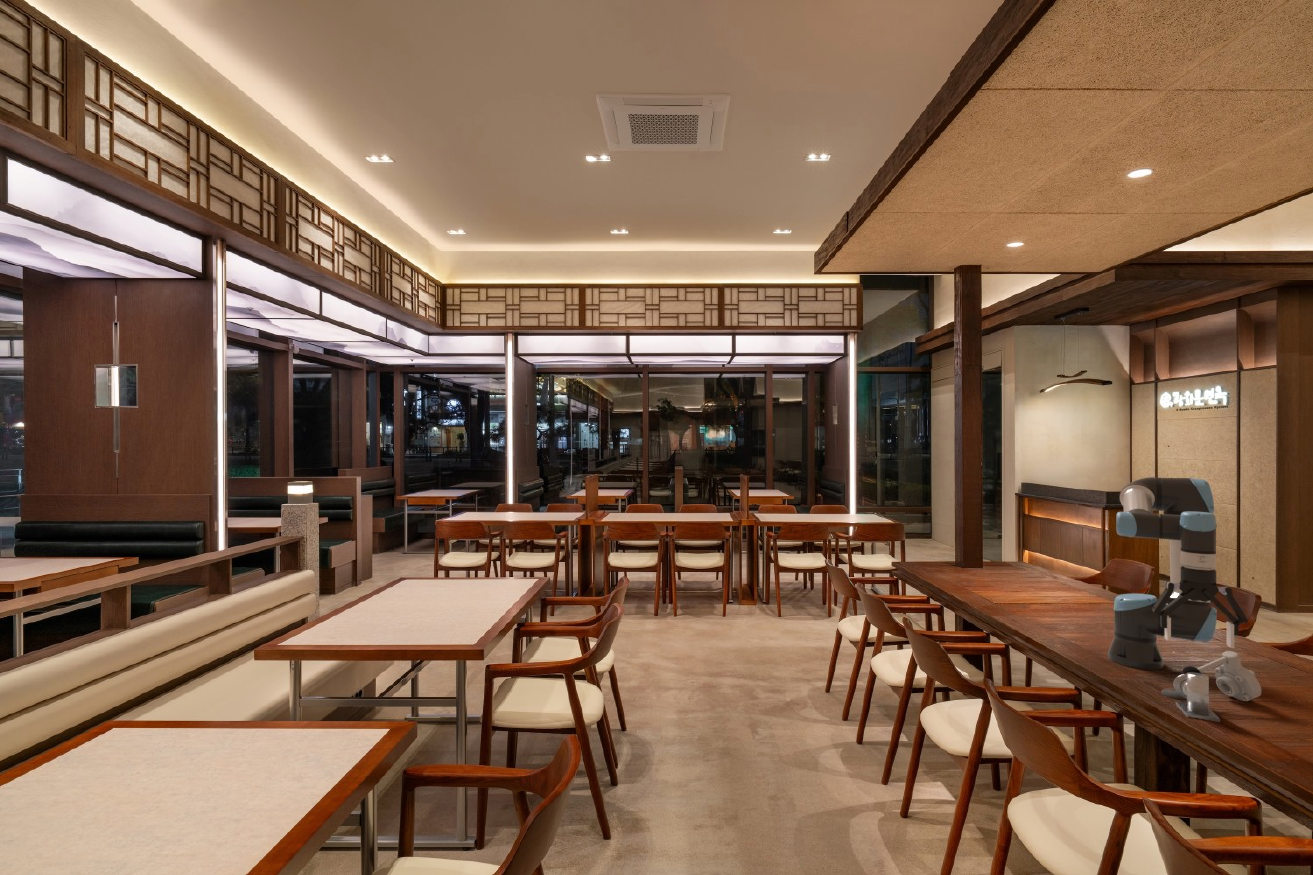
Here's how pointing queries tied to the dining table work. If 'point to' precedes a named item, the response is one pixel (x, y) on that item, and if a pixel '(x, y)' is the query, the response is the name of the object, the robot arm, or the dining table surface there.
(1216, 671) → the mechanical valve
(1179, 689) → the elbow fitting
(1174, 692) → the grey round disc
